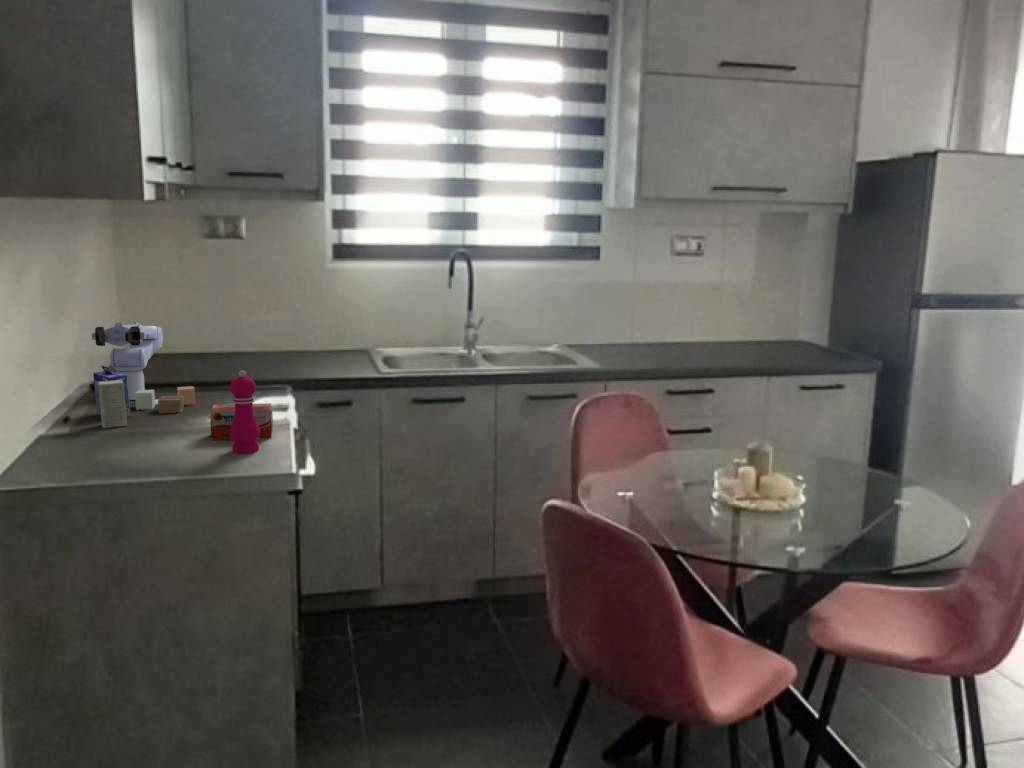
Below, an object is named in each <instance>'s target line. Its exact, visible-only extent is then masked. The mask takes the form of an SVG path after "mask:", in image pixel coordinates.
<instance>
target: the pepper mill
mask: <svg viewBox="0 0 1024 768" xmlns="http://www.w3.org/2000/svg"><path fill="white" fill-rule="evenodd" d="M256 389H257V385H256V382H255V381H254V379H252V377H249V376H247V371H245V370H244V369H243V370H240V371H239V372H238V377H236V378H234V379H233V380H231V382H230V385H229V390H230V392H231V394H232V395H233V397H232V399H233V400H232V403H233V404H235V415H234V419H233V422H232V424H231V427H230V438H231V439H232V441H233V443H232V444H231V447H232V450H231V451H232V453H236V454H241V453H245V454H250V453H249V452H253V453H255V452H254V451H256V452H258V451H259V449H260V446H259V445H260V444H259V442H258V441H257V440H259V439H258V438H259V436H260V428H259V425H258V423H257V421H256V419H255V417H254V414H253V408H252V405H253V404H254V402H255V400H254V399H255V396H254V394H255V393H256ZM257 450H258V451H257Z"/></svg>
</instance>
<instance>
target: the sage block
mask: <svg viewBox="0 0 1024 768" xmlns="http://www.w3.org/2000/svg"><path fill="white" fill-rule="evenodd" d="M135 399H136V400H135V410H139V409H141V410H154V408H155V407H156V405H155V399H156V396H155V389H145V390H138V391H137V392H136V393H135Z"/></svg>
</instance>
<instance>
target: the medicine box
mask: <svg viewBox="0 0 1024 768" xmlns="http://www.w3.org/2000/svg"><path fill="white" fill-rule="evenodd" d="M252 408H253V414H254V417H255V419H256V421H257V423H258V425H259V428H260V436H259V438H264V439H272V434H273V425H274V424H273V422H274V421H273V415H274V414H273V409H272V403H253V405H252ZM234 415H235V403H233V404H213V406H212V408H211V410H210V417H209V418H210V419H209V420H210V421H209V422H210V424H209V426H210V436H211V440H212V441H226V440H228V441H230V440H231V438H230V427H231V424H232V422H233V419H234Z"/></svg>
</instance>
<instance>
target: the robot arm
mask: <svg viewBox="0 0 1024 768" xmlns="http://www.w3.org/2000/svg"><path fill="white" fill-rule="evenodd" d="M91 341H95V346H97V347H105V346H106V344H110V345H113V346H117V347H124V346H126V345H129V348H114V347H113V348H112V349H111V351H110V353H109V354H110V355H109V362H110V365H111V367H112V368H113V369H114V370H115V371H114V372H116V373H121V374H125V375H126V376H127V385H128V395H129V401H130V400H131V401H132V400H133V401H136V399H135V393H136V392H137V391H138V390H146V388H145V375H144V372H143V369H145V368H146V367H147V364H148V361H149V360H151V358H152V356H153V354H154V353H155V352H156V351H157V350H159V349H161V348H162V347H163V343H164V342H163V341H164V331H163V329H162V328H161V327H160V326H157V325H156V326H154V325H142V324H141V323H138V321H132V322H128V323H127V324H124V323H123V322H121V321H118V322H115V323H114V326H112V327H108V328H106V329H105V328H104V326H96V327H95V328H94V332H91Z"/></svg>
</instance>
